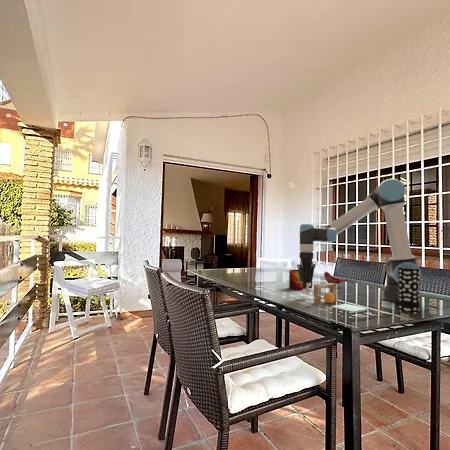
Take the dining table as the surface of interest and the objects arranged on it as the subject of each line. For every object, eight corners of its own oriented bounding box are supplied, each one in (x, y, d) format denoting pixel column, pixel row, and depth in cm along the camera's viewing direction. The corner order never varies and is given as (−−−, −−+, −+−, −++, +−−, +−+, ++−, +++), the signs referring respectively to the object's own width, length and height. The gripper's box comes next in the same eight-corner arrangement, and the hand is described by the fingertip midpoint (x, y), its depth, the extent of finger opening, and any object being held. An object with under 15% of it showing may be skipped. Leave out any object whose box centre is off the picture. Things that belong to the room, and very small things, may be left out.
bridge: (336, 301, 160) (336, 283, 160) (318, 304, 152) (318, 285, 153) (331, 300, 163) (331, 283, 163) (313, 303, 155) (313, 284, 155)
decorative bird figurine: (324, 285, 214) (324, 271, 215) (348, 289, 201) (348, 273, 201) (321, 285, 212) (322, 271, 213) (346, 289, 199) (346, 274, 200)
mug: (312, 290, 193) (312, 271, 193) (291, 290, 193) (291, 271, 193) (308, 287, 203) (308, 269, 203) (287, 287, 202) (287, 269, 203)
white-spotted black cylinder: (394, 309, 145) (394, 267, 145) (410, 309, 145) (410, 267, 146) (406, 313, 136) (406, 269, 137) (423, 313, 137) (423, 269, 138)
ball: (337, 303, 155) (337, 293, 155) (330, 305, 152) (330, 294, 152) (328, 301, 159) (328, 290, 159) (321, 302, 156) (321, 291, 156)
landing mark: (368, 309, 144) (368, 308, 144) (352, 312, 137) (352, 311, 137) (345, 304, 154) (345, 303, 154) (330, 306, 147) (330, 306, 147)
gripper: (309, 251, 176) (308, 292, 175) (293, 251, 169) (292, 294, 168) (319, 252, 170) (319, 294, 169) (303, 252, 163) (302, 296, 162)
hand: (306, 294), depth 168 cm, fingers closed
